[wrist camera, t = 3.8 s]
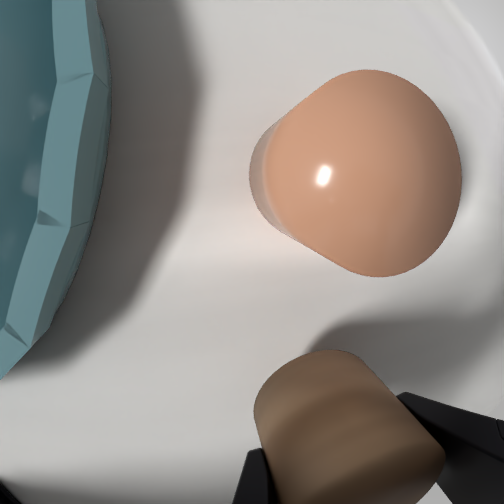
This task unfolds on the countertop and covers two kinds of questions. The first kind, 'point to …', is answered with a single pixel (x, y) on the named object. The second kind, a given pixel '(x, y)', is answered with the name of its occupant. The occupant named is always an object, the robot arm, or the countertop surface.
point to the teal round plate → (47, 157)
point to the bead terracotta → (361, 174)
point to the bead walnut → (342, 435)
